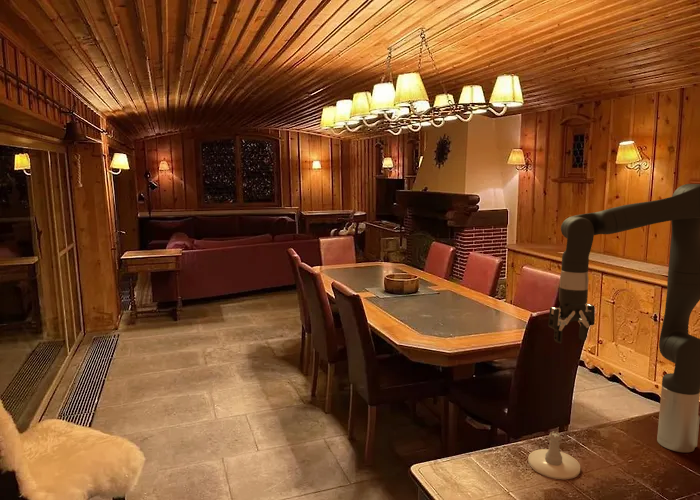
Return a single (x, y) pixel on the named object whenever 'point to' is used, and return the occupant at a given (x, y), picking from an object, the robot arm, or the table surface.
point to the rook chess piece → (554, 449)
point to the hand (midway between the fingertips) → (570, 341)
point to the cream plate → (562, 471)
